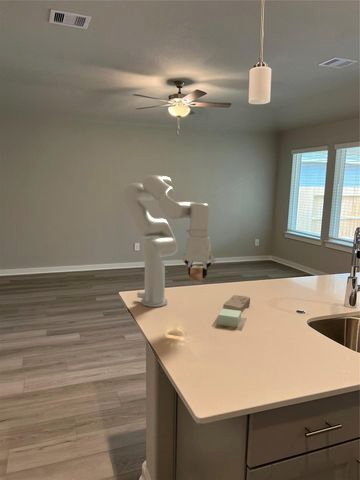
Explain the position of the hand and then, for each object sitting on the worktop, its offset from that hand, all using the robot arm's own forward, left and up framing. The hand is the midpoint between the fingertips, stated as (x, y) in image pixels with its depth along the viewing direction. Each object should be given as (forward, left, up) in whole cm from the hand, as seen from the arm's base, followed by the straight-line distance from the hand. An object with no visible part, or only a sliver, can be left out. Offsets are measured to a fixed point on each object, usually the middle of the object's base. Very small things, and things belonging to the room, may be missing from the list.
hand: (197, 276), depth 150 cm
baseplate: (+14, 0, -19) cm, 24 cm away
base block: (+14, 0, -18) cm, 23 cm away
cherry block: (0, 0, -1) cm, 1 cm away
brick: (+14, +20, -19) cm, 31 cm away
